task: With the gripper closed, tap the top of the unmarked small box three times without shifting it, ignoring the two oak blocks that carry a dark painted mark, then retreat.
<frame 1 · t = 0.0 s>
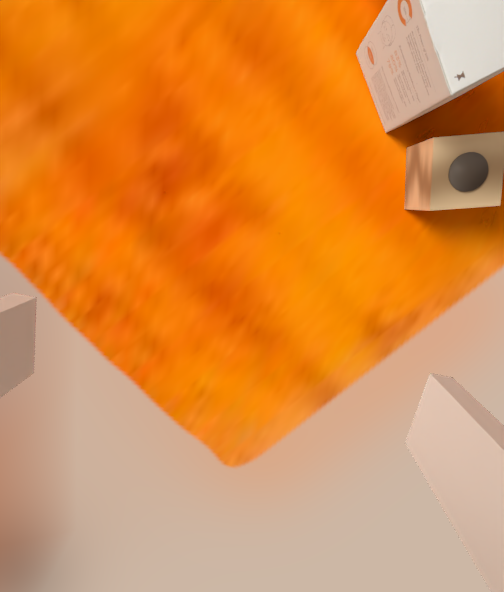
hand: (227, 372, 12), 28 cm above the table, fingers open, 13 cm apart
small box: (400, 78, 34), on the table
marked block a: (435, 176, 36), on the table
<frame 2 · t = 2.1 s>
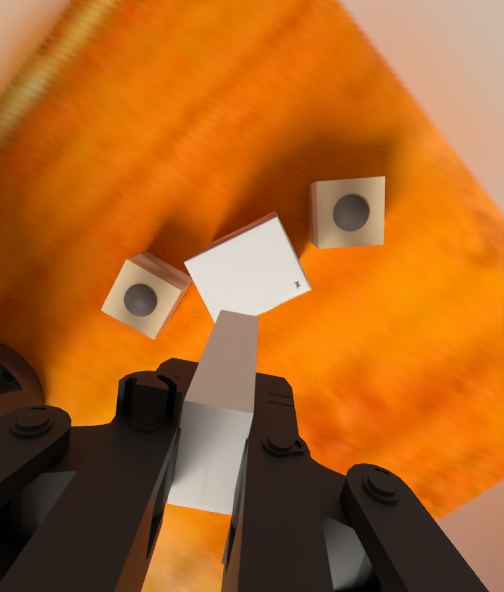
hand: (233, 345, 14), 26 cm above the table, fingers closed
marked block b: (158, 286, 41), on the table
small box: (253, 252, 40), on the table
marked block a: (337, 211, 38), on the table
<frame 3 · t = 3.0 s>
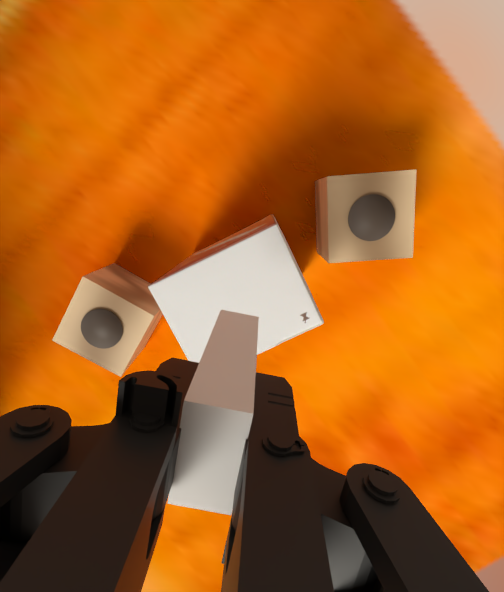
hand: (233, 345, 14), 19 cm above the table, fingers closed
marked block b: (130, 306, 34), on the table
small box: (246, 264, 32), on the table
marked block a: (350, 214, 31), on the table
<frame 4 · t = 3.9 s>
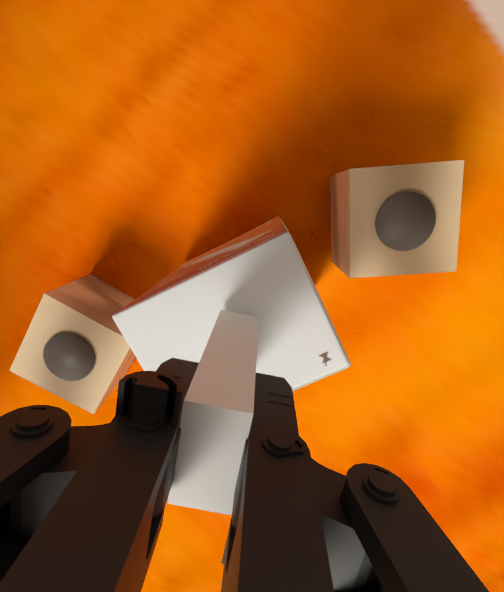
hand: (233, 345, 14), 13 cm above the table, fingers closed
marked block b: (109, 324, 28), on the table
small box: (247, 275, 27), on the table, touching gripper
marked block a: (372, 216, 26), on the table
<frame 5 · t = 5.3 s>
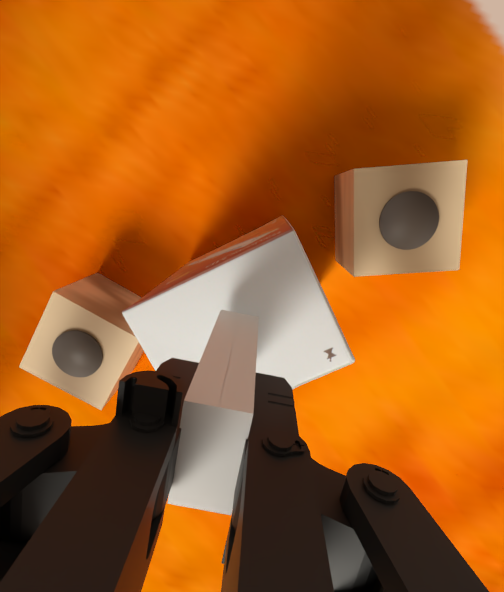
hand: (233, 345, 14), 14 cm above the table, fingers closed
marked block b: (116, 322, 29), on the table
small box: (252, 274, 27), on the table
marked block a: (376, 216, 26), on the table
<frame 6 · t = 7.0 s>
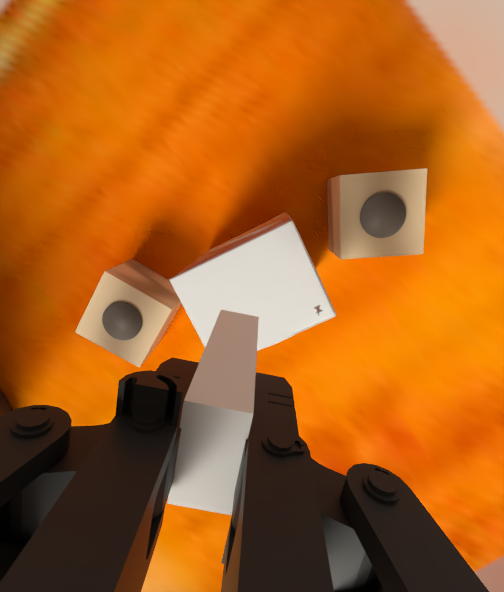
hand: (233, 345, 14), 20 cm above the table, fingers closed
marked block b: (147, 300, 35), on the table
small box: (260, 260, 33), on the table
marked block a: (362, 212, 32), on the table
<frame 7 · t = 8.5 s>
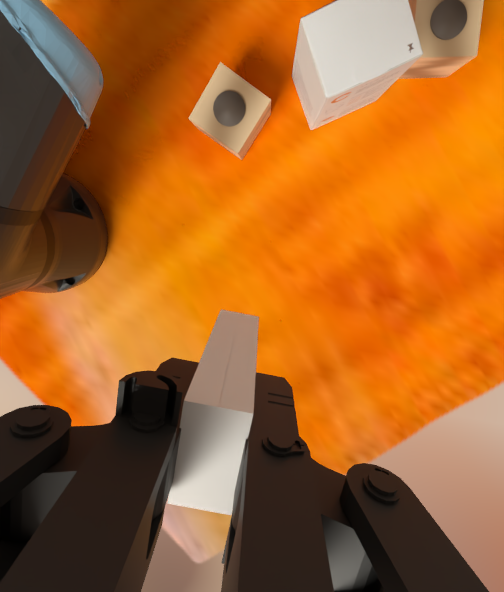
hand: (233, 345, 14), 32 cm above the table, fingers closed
marked block b: (234, 122, 42), on the table
small box: (333, 88, 40), on the table
marked block a: (421, 47, 39), on the table
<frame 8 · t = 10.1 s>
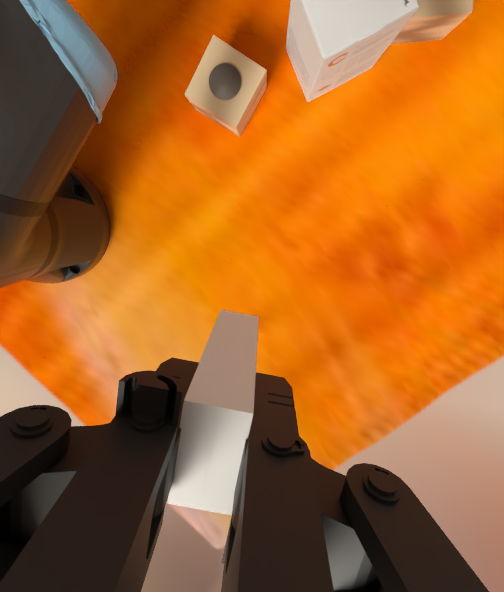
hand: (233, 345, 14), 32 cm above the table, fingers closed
marked block b: (230, 99, 41), on the table
small box: (328, 58, 40), on the table
marked block a: (414, 10, 38), on the table
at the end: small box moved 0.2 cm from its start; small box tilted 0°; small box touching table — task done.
